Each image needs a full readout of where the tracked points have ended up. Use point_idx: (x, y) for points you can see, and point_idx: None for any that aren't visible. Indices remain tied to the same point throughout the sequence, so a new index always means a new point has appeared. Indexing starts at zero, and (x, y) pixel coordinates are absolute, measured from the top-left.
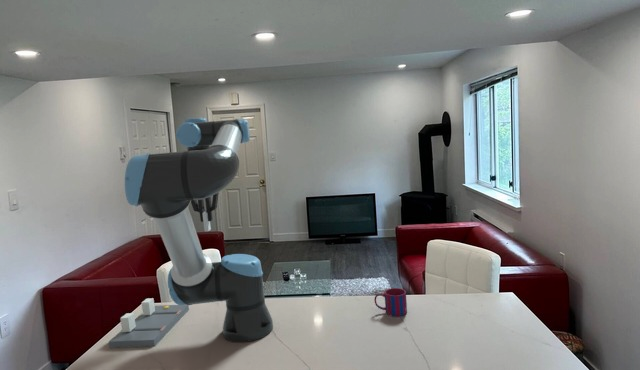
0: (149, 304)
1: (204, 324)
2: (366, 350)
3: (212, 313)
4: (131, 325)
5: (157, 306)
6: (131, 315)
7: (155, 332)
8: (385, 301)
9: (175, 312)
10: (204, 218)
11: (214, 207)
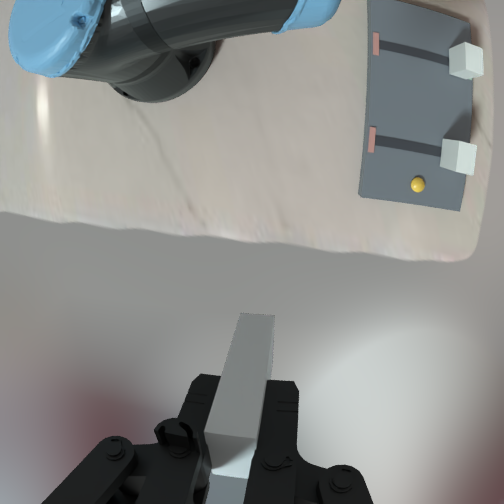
0: (455, 143)
1: (282, 86)
2: (2, 24)
3: (280, 154)
4: (454, 55)
5: (442, 202)
6: (465, 57)
7: (386, 30)
8: None
9: (381, 141)
10: (247, 389)
11: (95, 454)
